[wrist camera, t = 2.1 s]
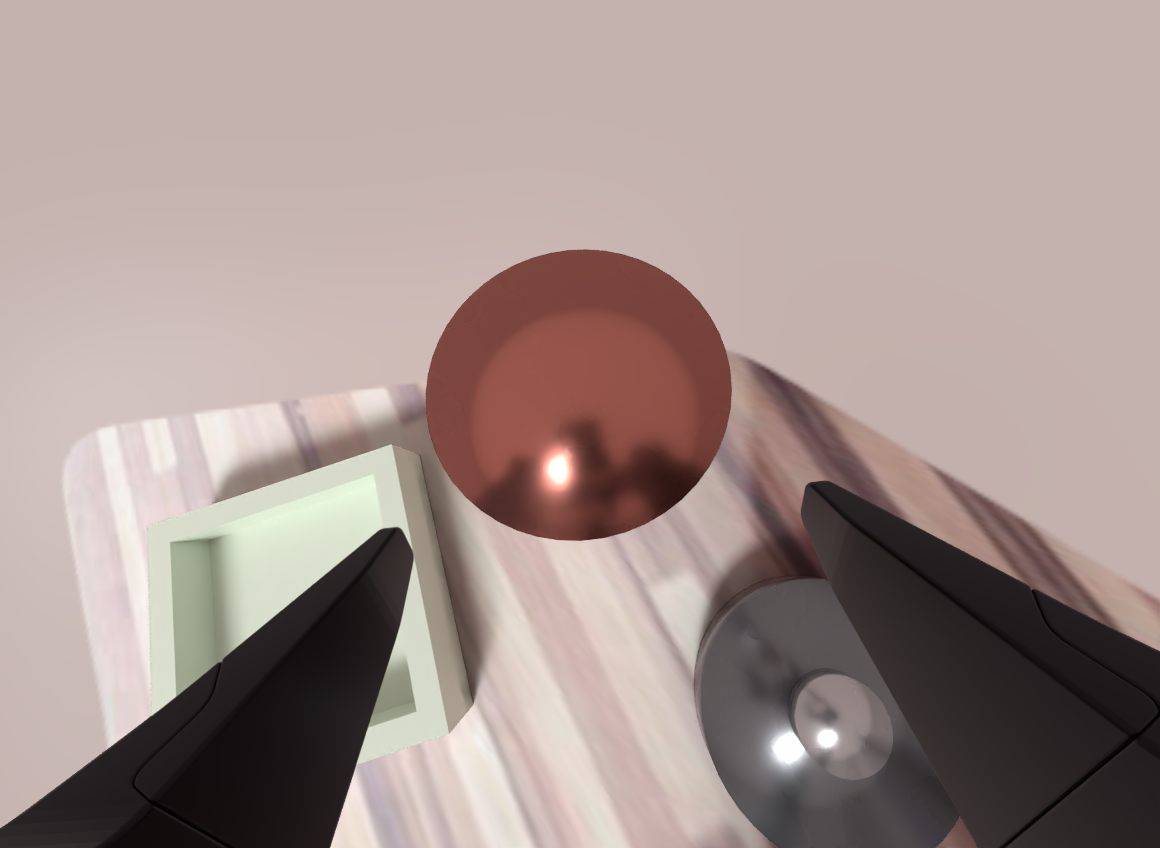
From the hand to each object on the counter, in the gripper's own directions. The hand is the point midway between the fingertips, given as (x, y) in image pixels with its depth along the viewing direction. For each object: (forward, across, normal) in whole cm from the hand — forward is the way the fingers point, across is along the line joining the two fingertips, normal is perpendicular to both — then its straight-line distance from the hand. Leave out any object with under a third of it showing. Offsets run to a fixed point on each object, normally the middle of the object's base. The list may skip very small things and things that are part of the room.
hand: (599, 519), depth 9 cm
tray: (+5, +13, +8) cm, 16 cm away
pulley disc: (+1, -7, +12) cm, 14 cm away
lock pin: (+8, 0, +5) cm, 10 cm away
